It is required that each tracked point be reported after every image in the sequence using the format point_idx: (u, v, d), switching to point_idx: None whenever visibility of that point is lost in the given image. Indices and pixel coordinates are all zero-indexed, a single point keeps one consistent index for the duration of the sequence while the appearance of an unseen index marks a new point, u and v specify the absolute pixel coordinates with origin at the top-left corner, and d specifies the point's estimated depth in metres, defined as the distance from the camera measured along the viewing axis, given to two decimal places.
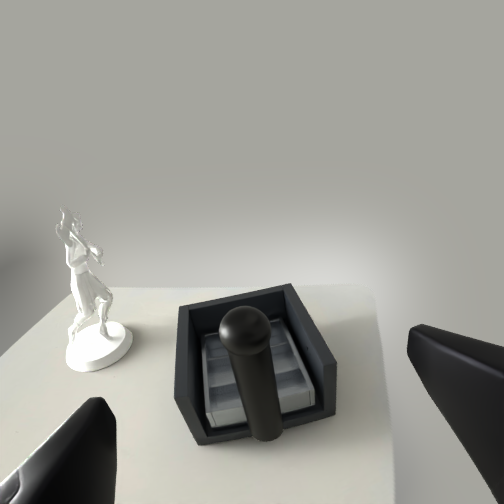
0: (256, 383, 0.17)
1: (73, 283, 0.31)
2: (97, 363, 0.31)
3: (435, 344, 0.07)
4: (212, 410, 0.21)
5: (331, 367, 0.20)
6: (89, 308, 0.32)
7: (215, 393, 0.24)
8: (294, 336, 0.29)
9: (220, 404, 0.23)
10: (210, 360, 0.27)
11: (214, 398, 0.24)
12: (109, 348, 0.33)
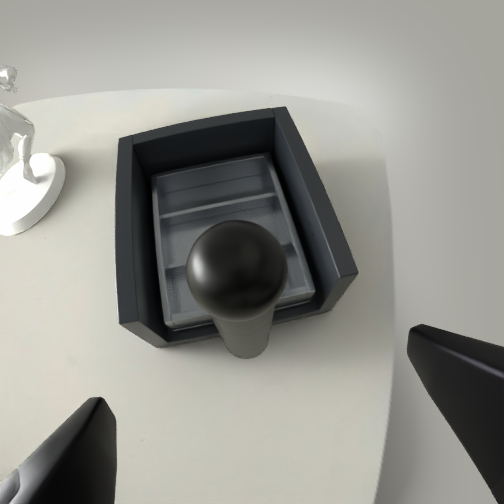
0: (247, 334, 0.11)
1: None
2: (24, 221, 0.22)
3: (435, 344, 0.07)
4: (173, 318, 0.16)
5: (349, 278, 0.14)
6: (5, 153, 0.19)
7: (174, 273, 0.19)
8: (284, 184, 0.21)
9: (182, 291, 0.18)
10: (165, 218, 0.20)
11: (173, 281, 0.19)
12: (36, 195, 0.23)
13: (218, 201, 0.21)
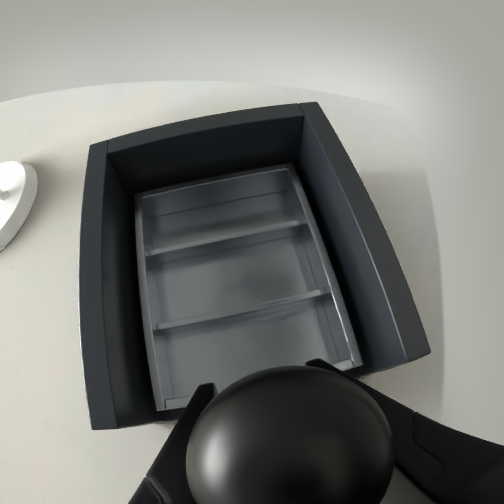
0: None
1: None
2: None
3: None
4: (168, 406, 0.10)
5: (417, 358, 0.09)
6: None
7: (167, 333, 0.13)
8: (313, 207, 0.15)
9: (179, 358, 0.13)
10: (153, 255, 0.14)
11: (166, 342, 0.13)
12: (2, 215, 0.17)
13: (226, 229, 0.16)
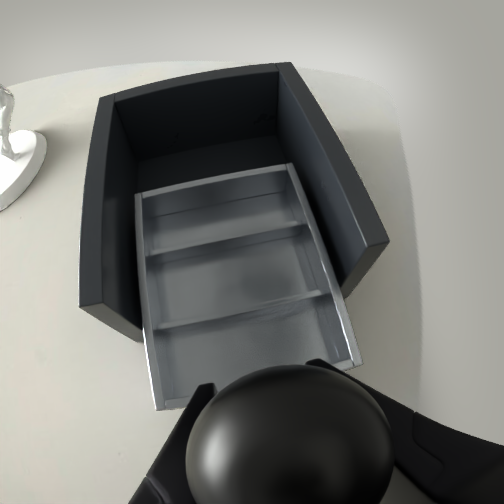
0: None
1: None
2: (0, 201, 0.19)
3: None
4: (168, 406, 0.10)
5: (378, 248, 0.11)
6: None
7: (167, 333, 0.13)
8: (289, 148, 0.17)
9: (179, 358, 0.13)
10: (153, 255, 0.14)
11: (166, 343, 0.13)
12: (14, 172, 0.19)
13: (226, 229, 0.16)
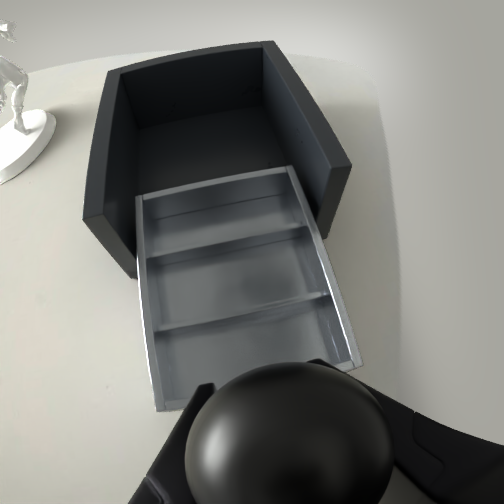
0: None
1: None
2: (11, 169, 0.20)
3: None
4: (168, 407, 0.10)
5: (342, 172, 0.12)
6: None
7: (168, 335, 0.13)
8: (272, 112, 0.19)
9: (179, 360, 0.13)
10: (154, 257, 0.14)
11: (167, 344, 0.13)
12: (25, 144, 0.21)
13: (226, 231, 0.16)
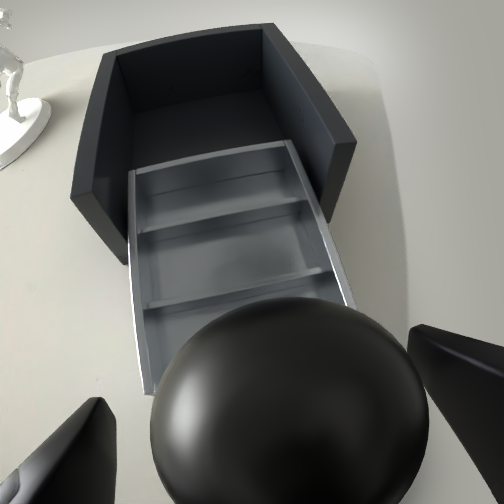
0: None
1: None
2: (4, 157, 0.19)
3: (435, 344, 0.07)
4: None
5: (346, 148, 0.11)
6: None
7: (159, 313, 0.13)
8: (272, 94, 0.18)
9: (171, 340, 0.12)
10: (146, 232, 0.14)
11: (158, 324, 0.13)
12: (19, 132, 0.20)
13: (222, 207, 0.15)
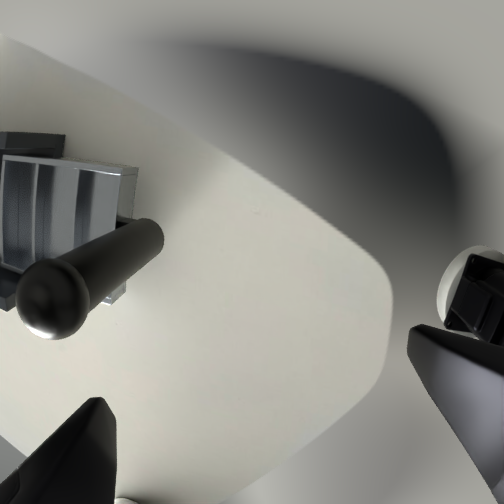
0: (115, 279, 0.12)
1: None
2: None
3: (435, 344, 0.07)
4: (109, 297, 0.17)
5: (10, 139, 0.13)
6: None
7: None
8: None
9: None
10: None
11: None
12: None
13: (33, 210, 0.18)
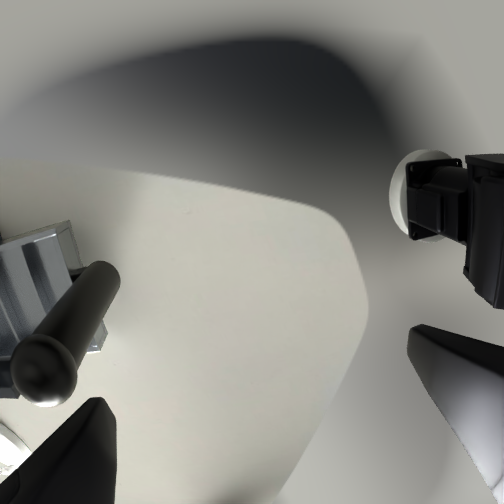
0: (88, 329, 0.12)
1: None
2: (15, 441, 0.23)
3: (435, 344, 0.07)
4: (95, 344, 0.17)
5: None
6: None
7: None
8: None
9: None
10: None
11: None
12: None
13: None
